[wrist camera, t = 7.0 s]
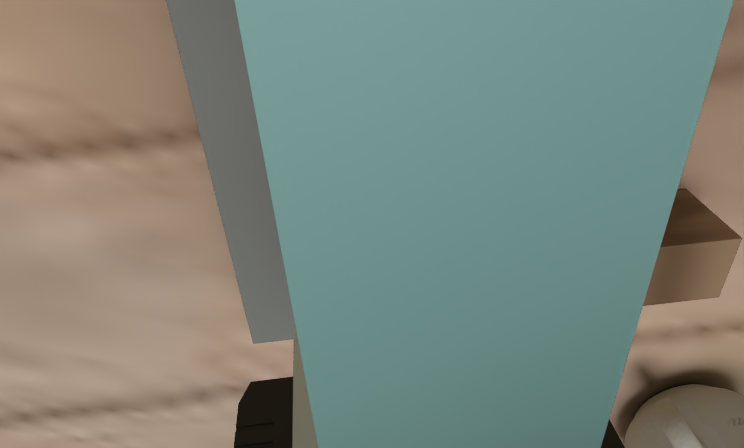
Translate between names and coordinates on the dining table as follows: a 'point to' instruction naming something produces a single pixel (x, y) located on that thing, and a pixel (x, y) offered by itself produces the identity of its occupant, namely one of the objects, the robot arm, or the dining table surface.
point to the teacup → (689, 419)
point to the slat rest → (692, 254)
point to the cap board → (235, 158)
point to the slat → (472, 203)
